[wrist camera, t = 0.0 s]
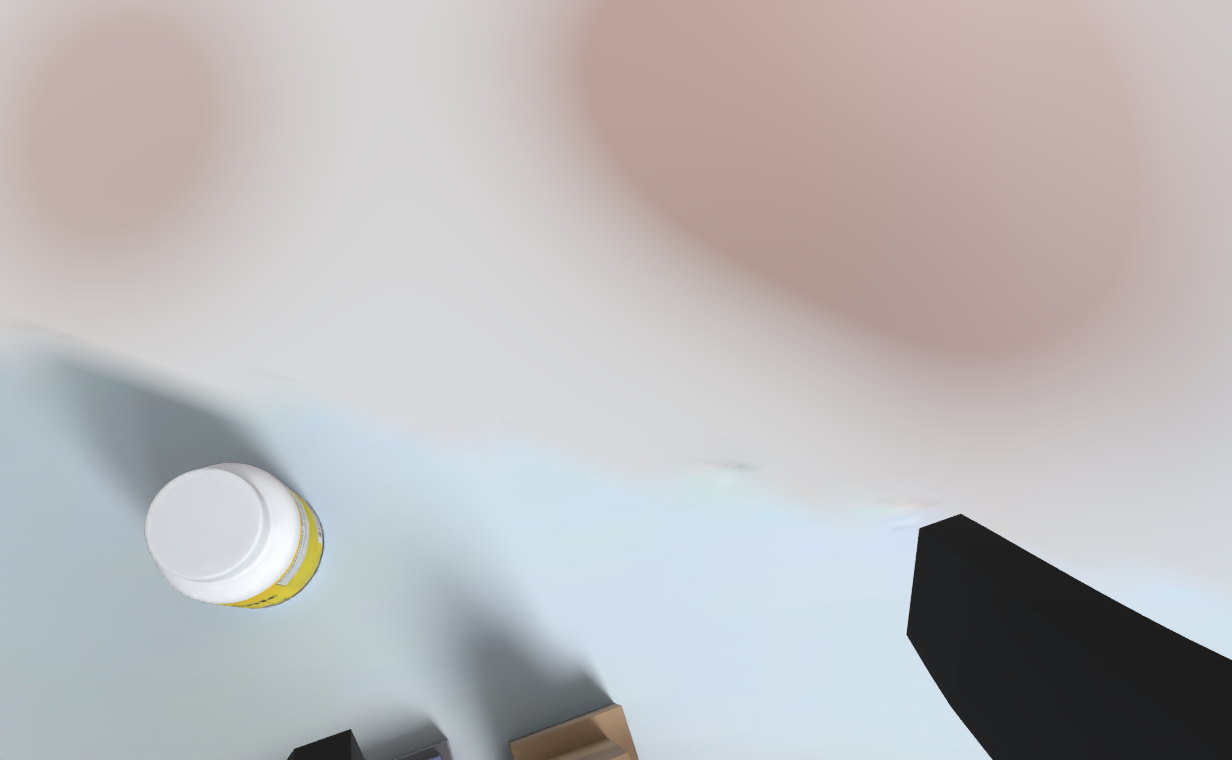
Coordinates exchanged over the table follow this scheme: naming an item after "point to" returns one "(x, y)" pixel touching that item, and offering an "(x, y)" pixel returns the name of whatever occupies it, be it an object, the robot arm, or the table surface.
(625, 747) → the stamp
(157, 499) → the supplement bottle
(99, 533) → the table surface
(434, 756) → the ink pad
